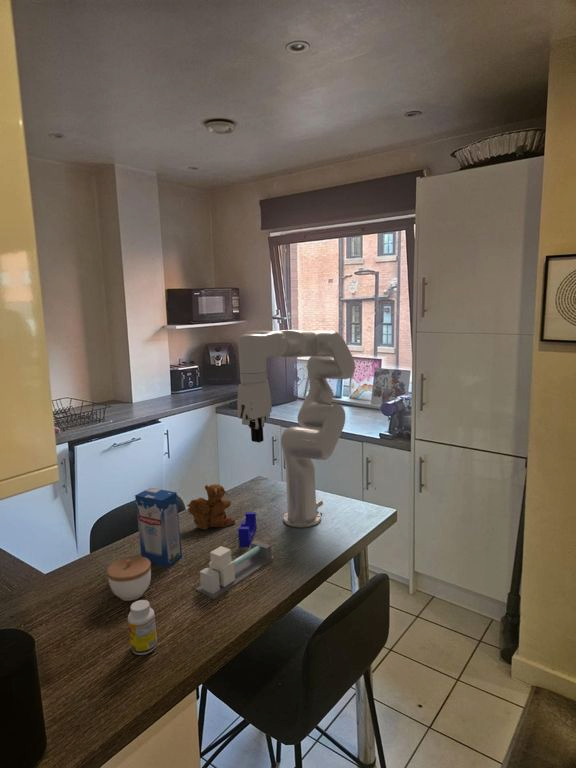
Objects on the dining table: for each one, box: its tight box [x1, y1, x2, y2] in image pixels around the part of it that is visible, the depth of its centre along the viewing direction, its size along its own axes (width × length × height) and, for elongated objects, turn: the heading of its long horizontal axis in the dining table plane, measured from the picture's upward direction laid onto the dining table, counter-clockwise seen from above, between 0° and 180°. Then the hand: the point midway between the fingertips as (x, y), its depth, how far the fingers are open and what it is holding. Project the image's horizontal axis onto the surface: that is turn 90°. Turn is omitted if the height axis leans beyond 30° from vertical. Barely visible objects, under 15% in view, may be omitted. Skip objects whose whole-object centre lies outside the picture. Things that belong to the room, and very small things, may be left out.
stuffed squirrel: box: [186, 483, 236, 531], centre depth 170 cm, size 10×14×13 cm
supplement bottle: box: [127, 599, 158, 656], centre depth 112 cm, size 6×6×10 cm
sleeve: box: [208, 546, 235, 587], centre depth 136 cm, size 4×5×8 cm
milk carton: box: [134, 487, 183, 568], centre depth 149 cm, size 10×6×20 cm, turn 62°
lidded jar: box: [106, 555, 152, 602], centre depth 133 cm, size 11×11×9 cm
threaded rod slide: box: [194, 539, 276, 600], centre depth 140 cm, size 24×7×5 cm, turn 142°
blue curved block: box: [237, 511, 258, 548], centre depth 161 cm, size 12×4×6 cm, turn 173°
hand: (257, 441), depth 148 cm, fingers closed
